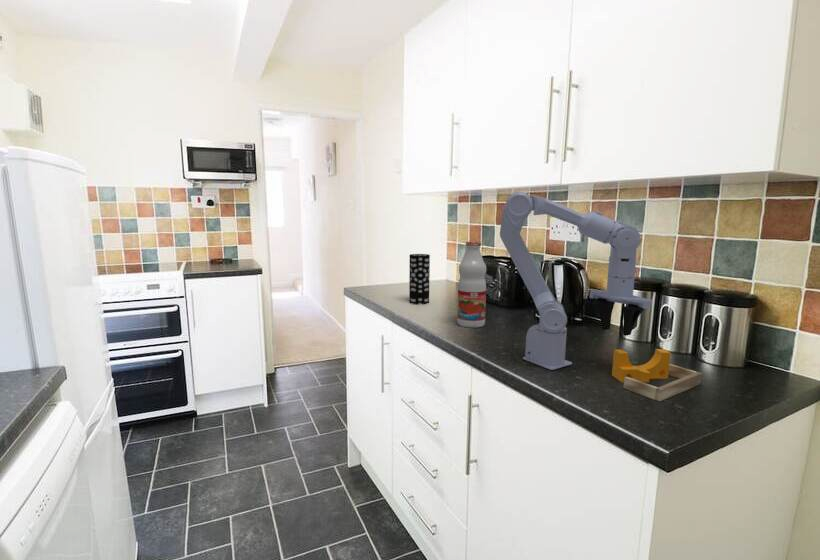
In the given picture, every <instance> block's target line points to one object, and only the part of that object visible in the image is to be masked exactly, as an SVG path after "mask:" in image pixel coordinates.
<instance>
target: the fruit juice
mask: <svg viewBox="0 0 820 560" xmlns="http://www.w3.org/2000/svg"><path fill="white" fill-rule="evenodd" d="M481 246H482V243H481V241H466V242H465V248H466V249H465V252H464V254H463V257H462V260H461V261H460V263H459V266H458V273H459V278H458V281H457V282H458V284H457V313H456V315H457V316H456V317H457V318H456V321H457V322H456V323H457V325H459V326H460V327H463V328H477V329H478V328H481V327H483V326H485V323H486V310H487V309H486V304H487V303H486V302H487V281H486V277H485V276H486V274H487V264H486V263H485V260H484V259H483V255H482V252H481Z"/></svg>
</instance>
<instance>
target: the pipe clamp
mask: <svg viewBox="0 0 820 560" xmlns="http://www.w3.org/2000/svg"><path fill="white" fill-rule="evenodd" d="M654 350H655V351H654V354H653V355H652V357H651V358H650V359H649V361H647V362H646V363H644V364H640V365H634V364H632V363H631V361H630V360H629V353H628V352H627V351H625V350H624V349H614V350H613V358H612V368H611V369H612V370H611V376H612V377H614V378H615V379H616V380H618V381H619V382H620V383H624V377H629V378H632V379H635V380H638V381H641V382H644V383H650V380H658V379H661V380H662V379H663V380H664V379H666V380H667V379H669V375H668V373H669V364H671V353H672V352H671V351H669V350H667V349H664V348H655V349H654Z"/></svg>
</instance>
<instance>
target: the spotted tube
mask: <svg viewBox="0 0 820 560" xmlns="http://www.w3.org/2000/svg"><path fill="white" fill-rule="evenodd" d="M430 259H431V255H430V254H429V253H412V254H410V253H409V277H408V278H409V279H408V280H409V284H408V285H409V286H408V287H409V290H408V291H409V297H408V299H409V301H408V303H409V302H410V303H409V304H411V303H414V304H413V305H417V304H422V305H427V303H428V304H430V276H431V275H430V271H431V269H430V266H431V265H430V264H431V263H430V262H431V260H430Z"/></svg>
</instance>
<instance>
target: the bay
mask: <svg viewBox="0 0 820 560" xmlns="http://www.w3.org/2000/svg"><path fill="white" fill-rule="evenodd" d="M668 376H671V377H674V378H677V379H676V380H673V381H671V382H668V383H666V384H663V385H661V386H658V387H657V386H655V385H653V384H649V383H648V382H641V381H638V380H635V379H632V378H629V377H624V382H623V389H625V390H627V391H630V392H633V393H636V394H638V395H641V396H644V397H647V398H649V399H652V400H654V401H657V402H662V401H664V400H666V399H669V398H671V397H674V396H676V395H678V394H680V393H683V392H686V391H689V390H691V389H693V388H694V387H697V386H699V385H701V384H702V379H703V378H702V377H703V372H699V371H696V370H692V369H690V368H685V367H682V366H679V365H676V364H672V363H670V364H669V373H668Z"/></svg>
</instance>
